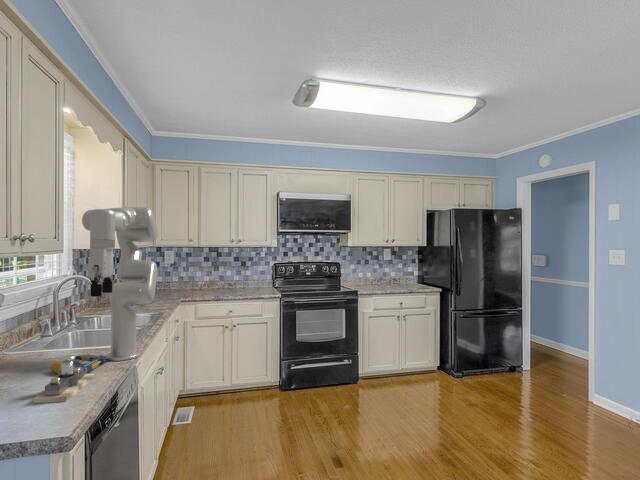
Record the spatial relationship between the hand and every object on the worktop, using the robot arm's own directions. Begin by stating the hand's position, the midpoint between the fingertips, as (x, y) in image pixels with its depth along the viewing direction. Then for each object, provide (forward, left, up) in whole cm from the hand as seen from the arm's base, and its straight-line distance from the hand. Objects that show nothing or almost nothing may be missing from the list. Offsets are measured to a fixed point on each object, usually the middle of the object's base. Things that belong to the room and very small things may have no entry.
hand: (101, 294), depth 129 cm
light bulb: (+4, -8, -29) cm, 30 cm away
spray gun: (-16, -14, -31) cm, 38 cm away
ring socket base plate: (+5, -8, -30) cm, 32 cm away
